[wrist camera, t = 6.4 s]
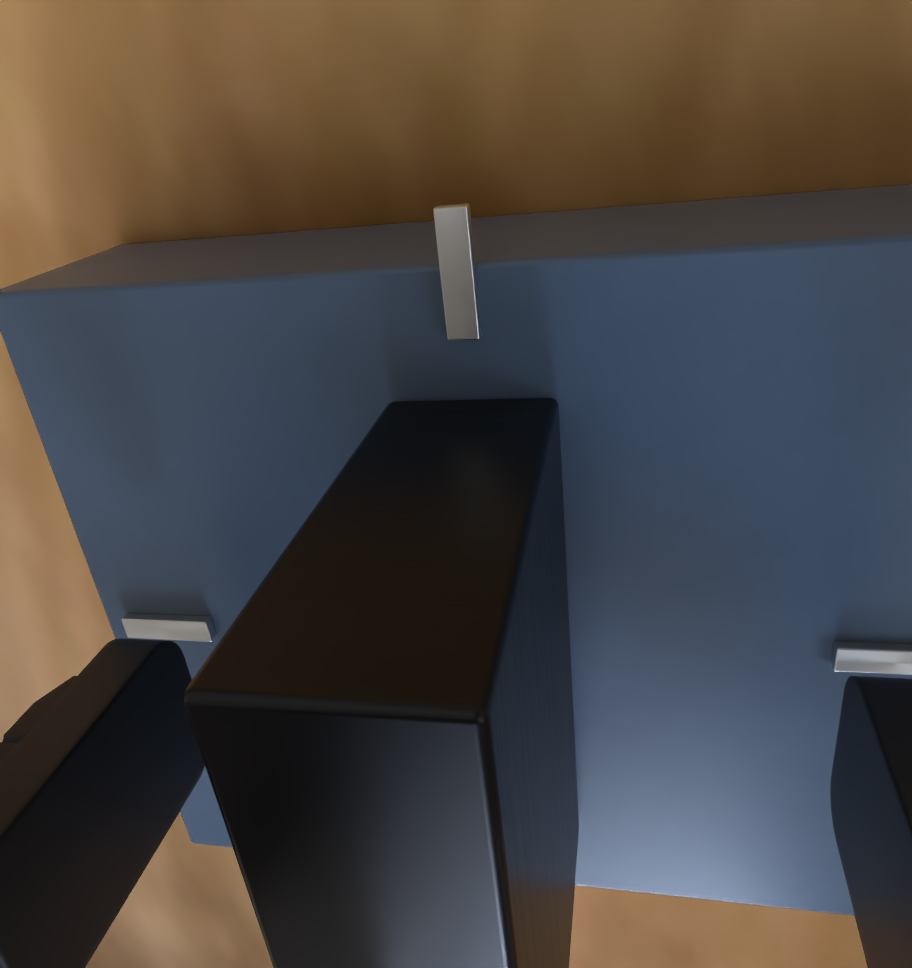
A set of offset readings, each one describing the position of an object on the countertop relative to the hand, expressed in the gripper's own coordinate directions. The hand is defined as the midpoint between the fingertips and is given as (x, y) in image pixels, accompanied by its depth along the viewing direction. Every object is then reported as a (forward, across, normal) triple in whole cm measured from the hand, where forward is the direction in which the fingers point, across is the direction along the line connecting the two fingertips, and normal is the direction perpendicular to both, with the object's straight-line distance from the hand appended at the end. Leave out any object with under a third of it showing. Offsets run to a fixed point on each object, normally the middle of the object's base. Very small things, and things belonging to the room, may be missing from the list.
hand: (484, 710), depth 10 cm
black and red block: (+1, 0, 0) cm, 1 cm away
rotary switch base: (+4, -1, 0) cm, 4 cm away
